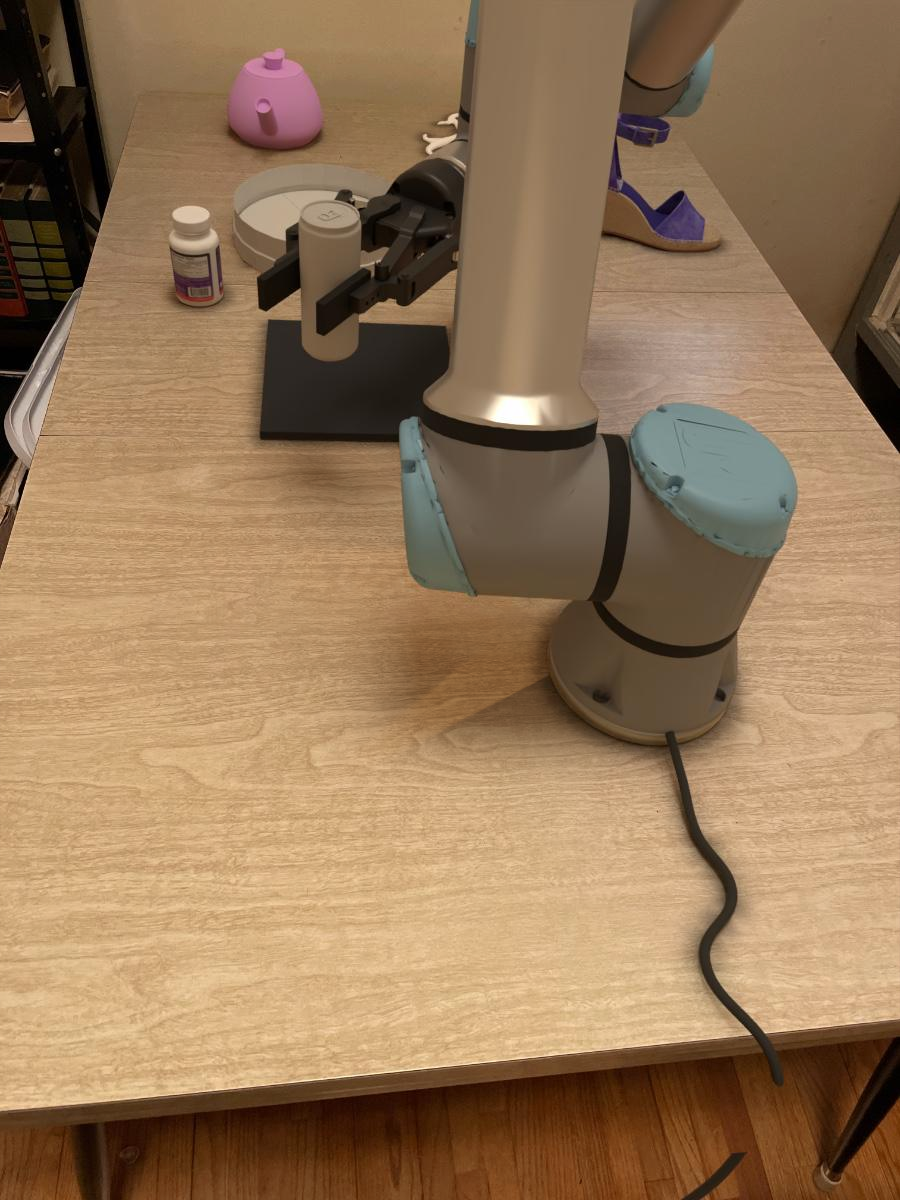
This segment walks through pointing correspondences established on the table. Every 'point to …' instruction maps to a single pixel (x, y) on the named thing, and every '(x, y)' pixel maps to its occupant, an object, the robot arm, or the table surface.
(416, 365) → the mat
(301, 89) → the teapot
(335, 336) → the beverage can
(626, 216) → the sandal
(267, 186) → the dish
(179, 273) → the pill bottle
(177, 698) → the table surface
